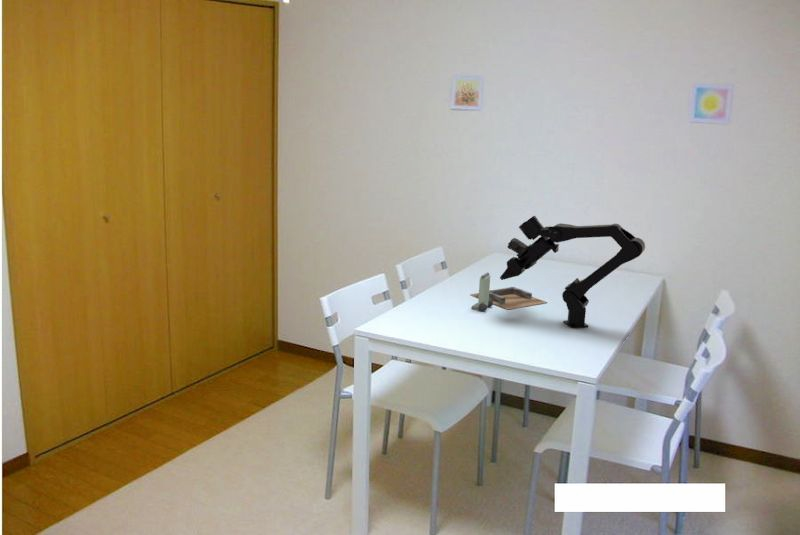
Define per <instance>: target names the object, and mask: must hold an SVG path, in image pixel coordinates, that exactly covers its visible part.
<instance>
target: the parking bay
mask: <svg viewBox="0 0 800 535" xmlns="http://www.w3.org/2000/svg"><path fill="white" fill-rule="evenodd" d="M470 296H471V297H475V298H476V299H479V292H477V293H470ZM489 299H491V300H492V301H493V305H494V306H496V307H499V308H501V309H504V310H506V311H510V310H516V309H521V308H525V307H526V308H527V307H532V306H538V305H543V304H547V303H548V301H545V300H541V299H539V298H537V297H534V296H533V293H532V292H529V291H526V290H523V289H522V288H521V289H520V288H519V287H516V286H511V287H504V288H498V289H491V290H490V289H489Z"/></svg>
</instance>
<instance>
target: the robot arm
mask: <svg viewBox="0 0 800 535" xmlns="http://www.w3.org/2000/svg"><path fill="white" fill-rule="evenodd" d="M518 229H519V230H520V231H521V232H522V233H523V235H524V236H525V237H526V239H527V240H532V241H534V242H532V243H531V244H529V245H527V244H526V243H524V242H523V241H521V240H519V239H518V238H516V237H513V238H512V239H511V240H510V241H509V242H508V243H507V249H508V250H511V251H513V252H515V253H516V257H515V256H513V257H511V258H510V259H508V260H507V261H506V268H505V270H504V271H503V272H502V274H501V275H500V276H499V279H500V280H501V281H503V280H508V279H511V278H514V277H519V276H520V275H522V274H523V273H525V271H526V270H528V269H530V268H532V267H533V266H534V265H536V264H537V262H538V261H540V260H541V259H542V258H543V257H544V256H545V255H546V254H548V253H549V252H550V251H551V250H552V252H553V253H555V254H556V253H558V252H559V250H560V249H559V248H560V247H559V246H560V244H559V243H562V242H566V241H570V240H574V239H581V238H582V239H584V238H585V239H586V238H607V237H608V238H612V239H613V241H615V242H616V243H617V245H618V246H619V247H620V249H619V251H618V252H617V253H616V254H615V255H614V256H612V257H611V258H610V259H608V260H607V261H606V262H604V263H603V264H602V265H601V266H600V267H598V268H597V269H596V270H594V271H593V272H591V273H590V274H589V275H587V276H586V277H585V278H583V279H581V280H580V279H579V278H578V277H577V278H575V279H574V280H573V281H572V282H571V283H568V284H567V285H566V286H565V287H564V291H563V292H562V294H561V295H562V300H563V302H564V303H565V304H566V307H567V308H566V309H567V310H568V312H567V320H566V319H565V320H563V321H562V322H563V323H564V324H566V325H567V326H569V327H570V328H589V325H588V324H586V322H585V321H586V312H587V308H586V307H587V306H588V304H589V302H590V300H589V299H588V297H587V296H586V294H587V292H588V291H589V290H590V289H591V288H592V287H594V286H595V285H597V284H598V283H599V282H602V280H603V279H605V278H606V277H607V276H608V275H610V274H611V273H612V272H614V271H615V270H616V269H618V268H619V267H620V266H622V265H624V264H626V263H629V262H631V261H633V260H635V259H637V258H639V257H640V256H641V255H642V253H644V251H645V249H646V243H645V241H644V240H643V239H641V238H640V237H635V236H634V235H633V234H632V233H631V232H629V231H628V230H626V229H625V228H623V227H622V226H621V225H620V224H619V223H611V224H597V225H596V224H594V225H573V224H567V223H556V224H555V225H552V226H545V227H544V226H543V224H542V223H541V222H540V221H539V219H538V218H537V217H536V215H533V216H531V217H530V218H529V219H527V220H526V221H523V223H521V224H520V225H519V226H518Z"/></svg>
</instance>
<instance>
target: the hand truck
mask: <svg viewBox="0 0 800 535" xmlns="http://www.w3.org/2000/svg"><path fill="white" fill-rule="evenodd" d="M490 283H491V275H490V272H485V273H484V274H482V275H481V276H480V277H479V283H478V285H479V287H478V293H479V298H477V300H478V302H476V303H474V304H473V305H472V306H471V310H473V311H474V310H475V311H480V312H483V313H484V312H486V311H487V310H488V308H491V307H492V306H493V305H494V304H493V301H492V300H491V299H489V291H490Z"/></svg>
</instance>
